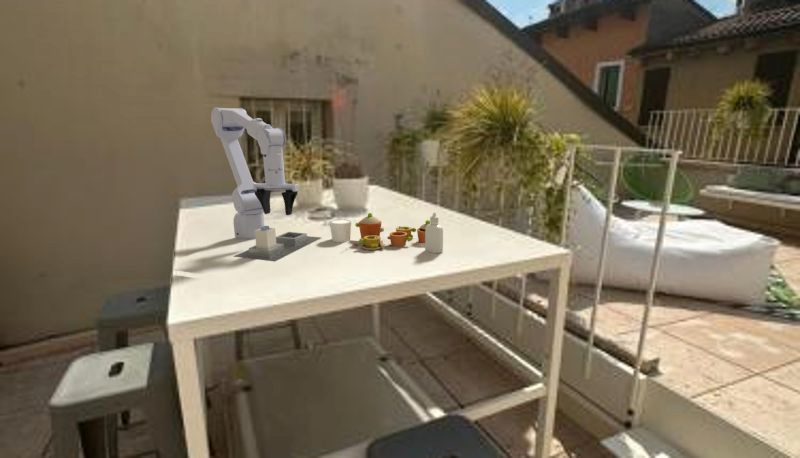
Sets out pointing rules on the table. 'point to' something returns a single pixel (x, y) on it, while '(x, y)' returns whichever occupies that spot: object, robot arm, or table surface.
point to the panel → (280, 247)
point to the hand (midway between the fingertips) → (278, 214)
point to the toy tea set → (371, 236)
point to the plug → (265, 238)
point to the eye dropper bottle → (434, 236)
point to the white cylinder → (340, 230)
